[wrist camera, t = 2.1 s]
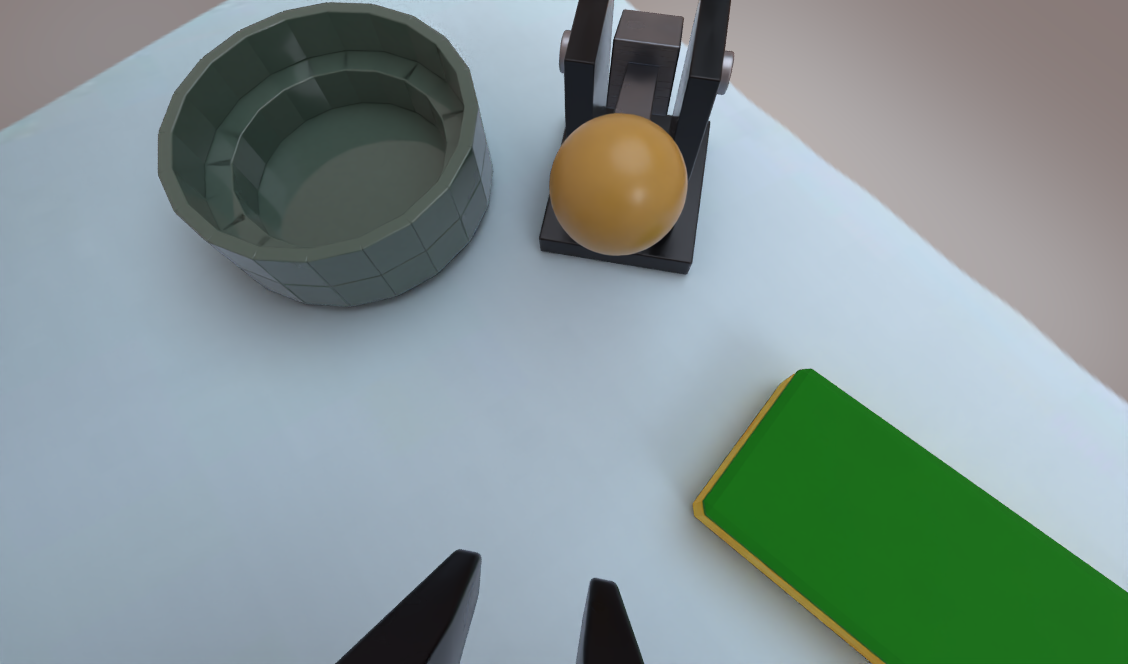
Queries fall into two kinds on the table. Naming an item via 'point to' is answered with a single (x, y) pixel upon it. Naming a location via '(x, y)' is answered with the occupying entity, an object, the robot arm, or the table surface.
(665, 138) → the tap lever
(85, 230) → the table surface
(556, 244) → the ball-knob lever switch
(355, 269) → the basin
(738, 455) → the dish sponge
